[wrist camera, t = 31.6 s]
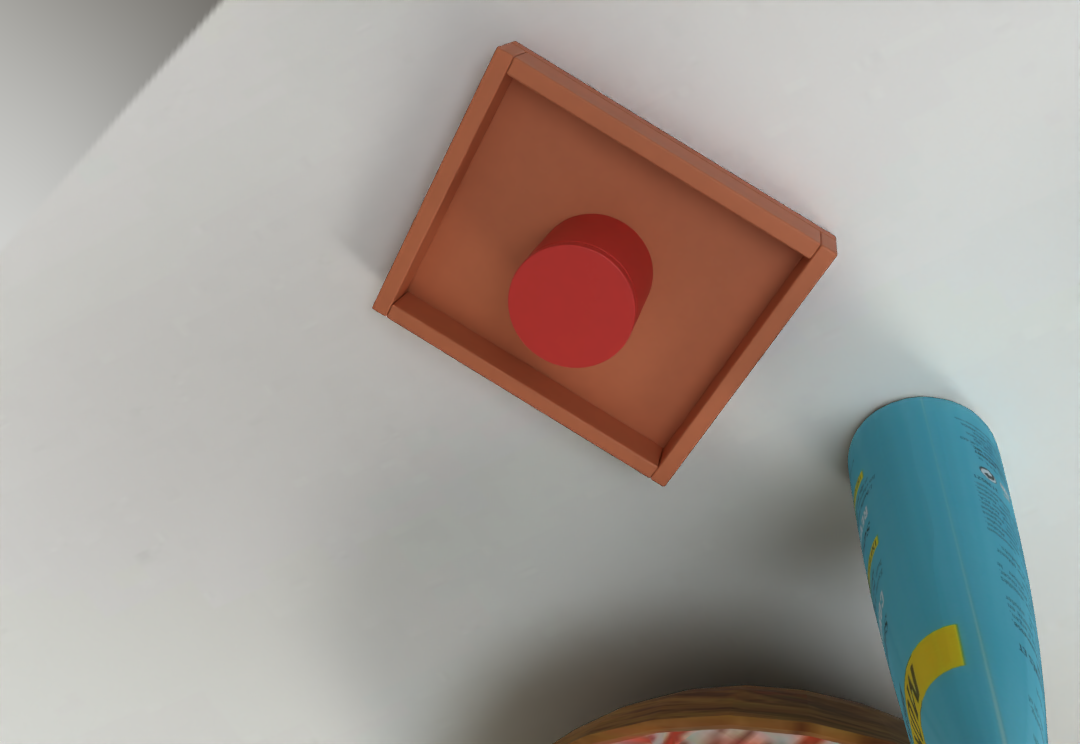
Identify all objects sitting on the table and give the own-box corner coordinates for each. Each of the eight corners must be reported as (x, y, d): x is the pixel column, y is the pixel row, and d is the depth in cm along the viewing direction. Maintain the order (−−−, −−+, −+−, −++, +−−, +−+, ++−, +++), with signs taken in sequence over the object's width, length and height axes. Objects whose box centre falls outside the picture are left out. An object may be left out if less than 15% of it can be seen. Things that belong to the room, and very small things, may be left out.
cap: (650, 332, 33) (632, 376, 30) (537, 322, 34) (508, 363, 31) (656, 217, 32) (638, 249, 28) (537, 209, 33) (506, 239, 29)
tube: (820, 384, 33) (834, 851, 16) (968, 345, 31) (1159, 826, 14) (879, 560, 35) (947, 1137, 18) (1021, 534, 33) (1242, 1147, 16)
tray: (392, 290, 36) (371, 308, 34) (514, 40, 31) (497, 46, 29) (671, 460, 36) (664, 488, 34) (836, 236, 31) (838, 254, 29)
